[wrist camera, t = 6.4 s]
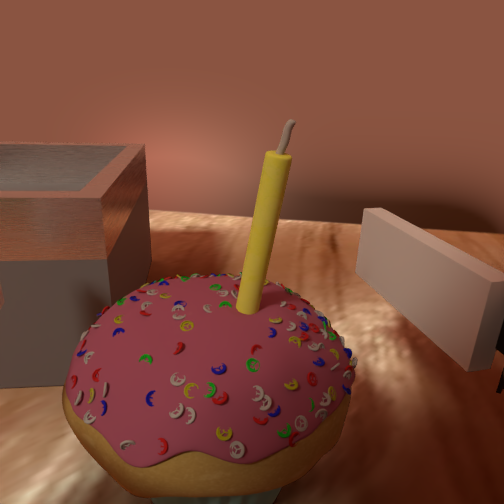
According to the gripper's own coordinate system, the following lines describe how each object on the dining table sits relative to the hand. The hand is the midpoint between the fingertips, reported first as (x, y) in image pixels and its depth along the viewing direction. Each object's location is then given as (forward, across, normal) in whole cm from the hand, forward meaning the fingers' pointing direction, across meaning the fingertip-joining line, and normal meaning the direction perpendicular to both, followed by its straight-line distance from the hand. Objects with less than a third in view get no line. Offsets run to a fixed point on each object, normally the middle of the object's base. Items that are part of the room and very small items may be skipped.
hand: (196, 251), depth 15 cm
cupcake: (-3, 0, -7) cm, 8 cm away
